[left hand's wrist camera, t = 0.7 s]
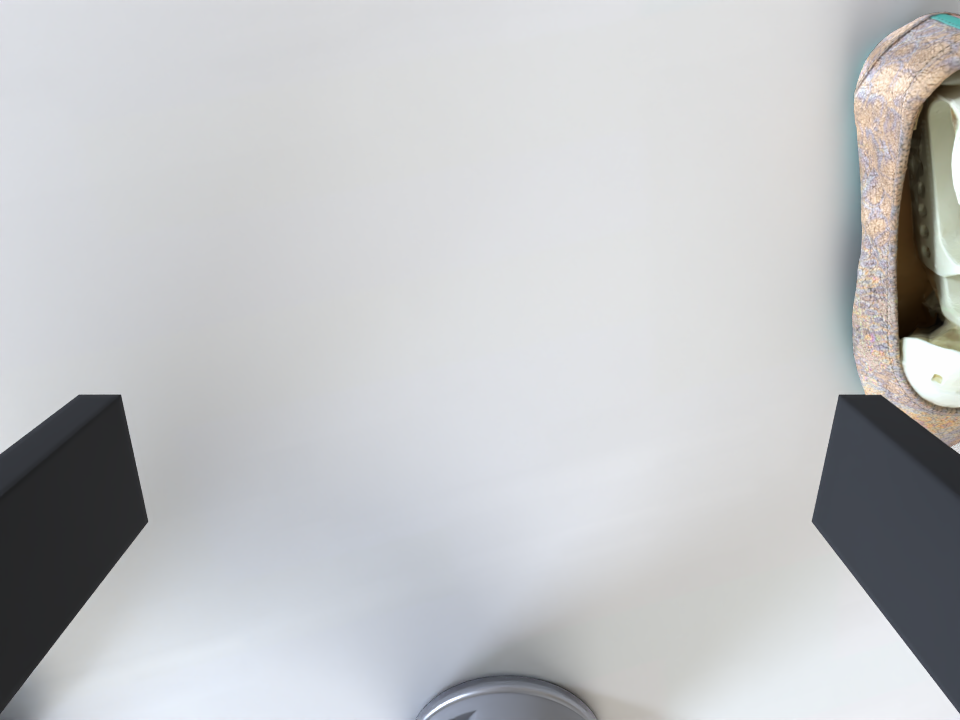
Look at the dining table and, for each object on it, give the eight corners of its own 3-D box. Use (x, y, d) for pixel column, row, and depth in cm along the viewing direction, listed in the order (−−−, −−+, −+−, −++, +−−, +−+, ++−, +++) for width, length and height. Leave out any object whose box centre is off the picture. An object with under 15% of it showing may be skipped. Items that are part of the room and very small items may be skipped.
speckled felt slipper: (861, 456, 43) (943, 538, 35) (787, 61, 34) (874, 58, 27) (999, 414, 42) (1113, 490, 34) (958, -6, 33) (1101, -29, 25)
